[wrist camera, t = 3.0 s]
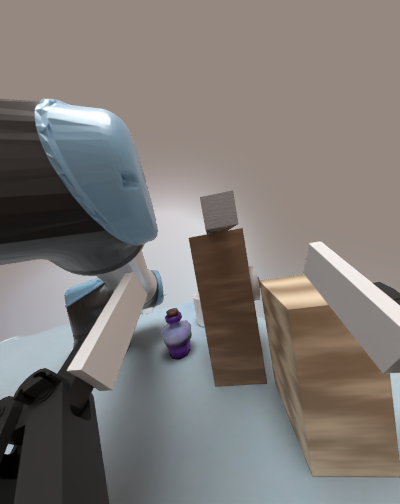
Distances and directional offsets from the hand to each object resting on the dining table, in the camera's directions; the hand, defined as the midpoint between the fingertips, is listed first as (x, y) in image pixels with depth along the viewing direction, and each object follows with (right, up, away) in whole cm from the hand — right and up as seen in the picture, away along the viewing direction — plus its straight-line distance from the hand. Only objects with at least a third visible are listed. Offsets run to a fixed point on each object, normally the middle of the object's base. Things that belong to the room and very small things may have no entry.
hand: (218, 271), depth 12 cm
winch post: (+9, -24, +25) cm, 36 cm away
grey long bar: (+2, +5, +17) cm, 18 cm away
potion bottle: (-7, -26, +31) cm, 41 cm away
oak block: (+17, -23, +11) cm, 31 cm away
